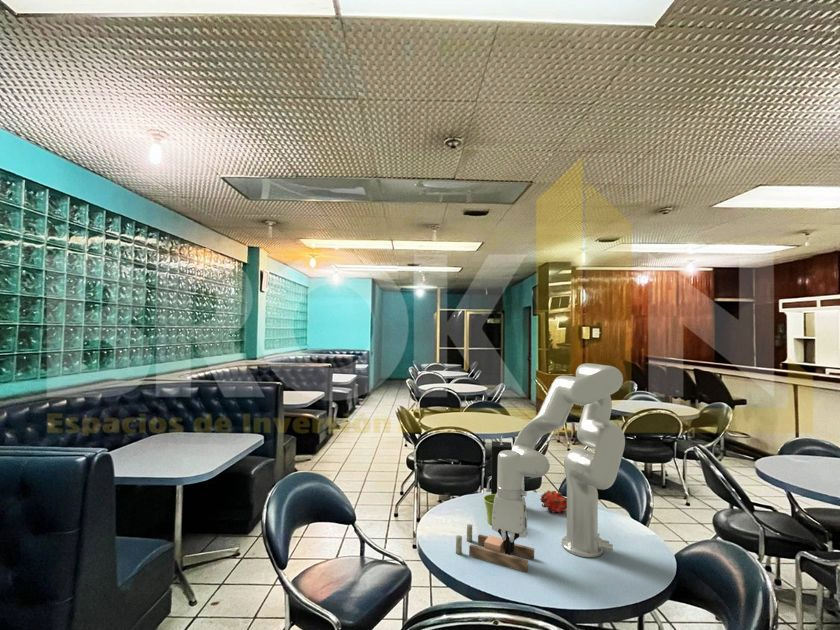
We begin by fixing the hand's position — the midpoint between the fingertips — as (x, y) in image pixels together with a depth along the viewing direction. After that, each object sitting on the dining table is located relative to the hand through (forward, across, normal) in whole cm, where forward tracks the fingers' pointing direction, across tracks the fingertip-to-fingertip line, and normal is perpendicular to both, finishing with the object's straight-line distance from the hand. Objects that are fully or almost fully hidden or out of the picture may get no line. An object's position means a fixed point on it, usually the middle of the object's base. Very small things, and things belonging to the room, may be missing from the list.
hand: (508, 552), depth 130 cm
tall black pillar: (+2, +14, -37) cm, 40 cm away
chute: (+2, +5, 0) cm, 5 cm away
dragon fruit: (+2, -6, -44) cm, 44 cm away
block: (+2, +5, 0) cm, 5 cm away
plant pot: (+2, +11, -22) cm, 25 cm away
